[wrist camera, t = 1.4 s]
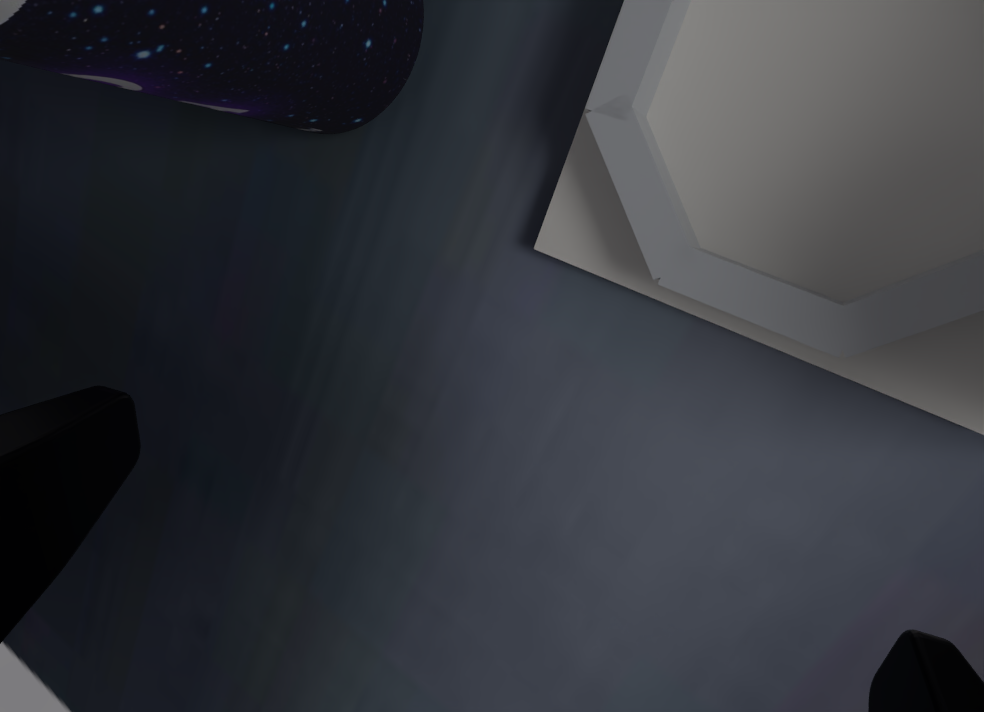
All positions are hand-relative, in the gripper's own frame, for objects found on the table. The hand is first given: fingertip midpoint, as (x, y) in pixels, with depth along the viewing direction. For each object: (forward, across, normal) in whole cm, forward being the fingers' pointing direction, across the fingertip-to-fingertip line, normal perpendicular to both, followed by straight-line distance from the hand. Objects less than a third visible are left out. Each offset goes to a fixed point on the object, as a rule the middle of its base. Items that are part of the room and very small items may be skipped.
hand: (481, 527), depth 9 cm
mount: (+13, -4, -3) cm, 14 cm away
